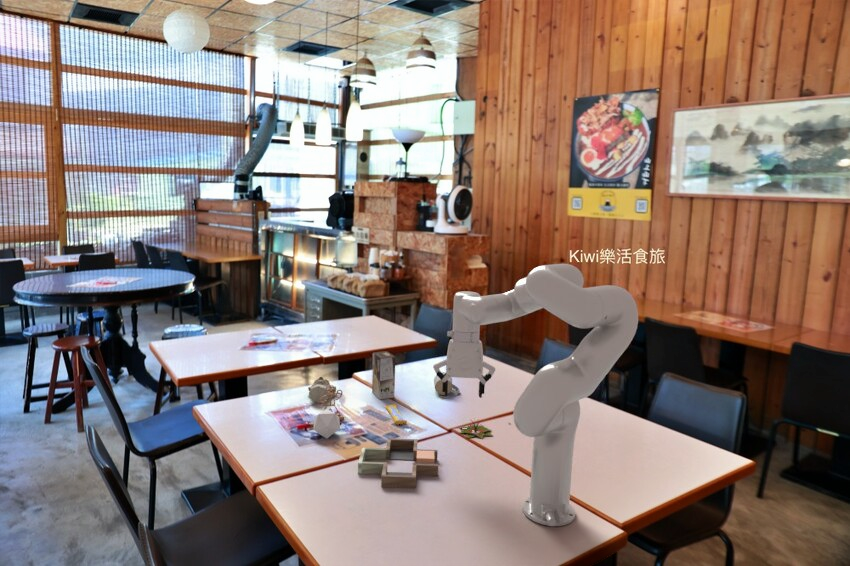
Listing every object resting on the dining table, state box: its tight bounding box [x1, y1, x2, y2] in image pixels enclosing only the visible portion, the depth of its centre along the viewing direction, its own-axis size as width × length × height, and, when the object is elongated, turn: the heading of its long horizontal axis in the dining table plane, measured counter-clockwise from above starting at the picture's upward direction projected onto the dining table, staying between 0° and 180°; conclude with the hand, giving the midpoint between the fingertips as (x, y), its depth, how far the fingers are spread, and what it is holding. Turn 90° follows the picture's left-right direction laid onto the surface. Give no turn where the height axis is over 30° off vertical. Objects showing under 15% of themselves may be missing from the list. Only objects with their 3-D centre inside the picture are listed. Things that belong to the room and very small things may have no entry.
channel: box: [357, 438, 439, 489], centre depth 163 cm, size 24×22×3 cm
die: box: [312, 408, 341, 439], centre depth 182 cm, size 8×9×10 cm
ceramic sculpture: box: [307, 376, 337, 404], centre depth 215 cm, size 11×9×15 cm
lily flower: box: [459, 418, 494, 440], centre depth 189 cm, size 12×12×5 cm
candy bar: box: [384, 404, 408, 426], centre depth 201 cm, size 17×4×2 cm, turn 16°
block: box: [416, 450, 435, 464], centre depth 163 cm, size 5×5×4 cm
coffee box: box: [371, 350, 396, 400], centre depth 220 cm, size 9×6×16 cm
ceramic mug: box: [433, 371, 461, 396], centre depth 226 cm, size 10×8×7 cm
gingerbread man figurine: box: [318, 384, 345, 421], centre depth 195 cm, size 9×4×12 cm, turn 112°
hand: (463, 395), depth 162 cm, fingers open, 9 cm apart
